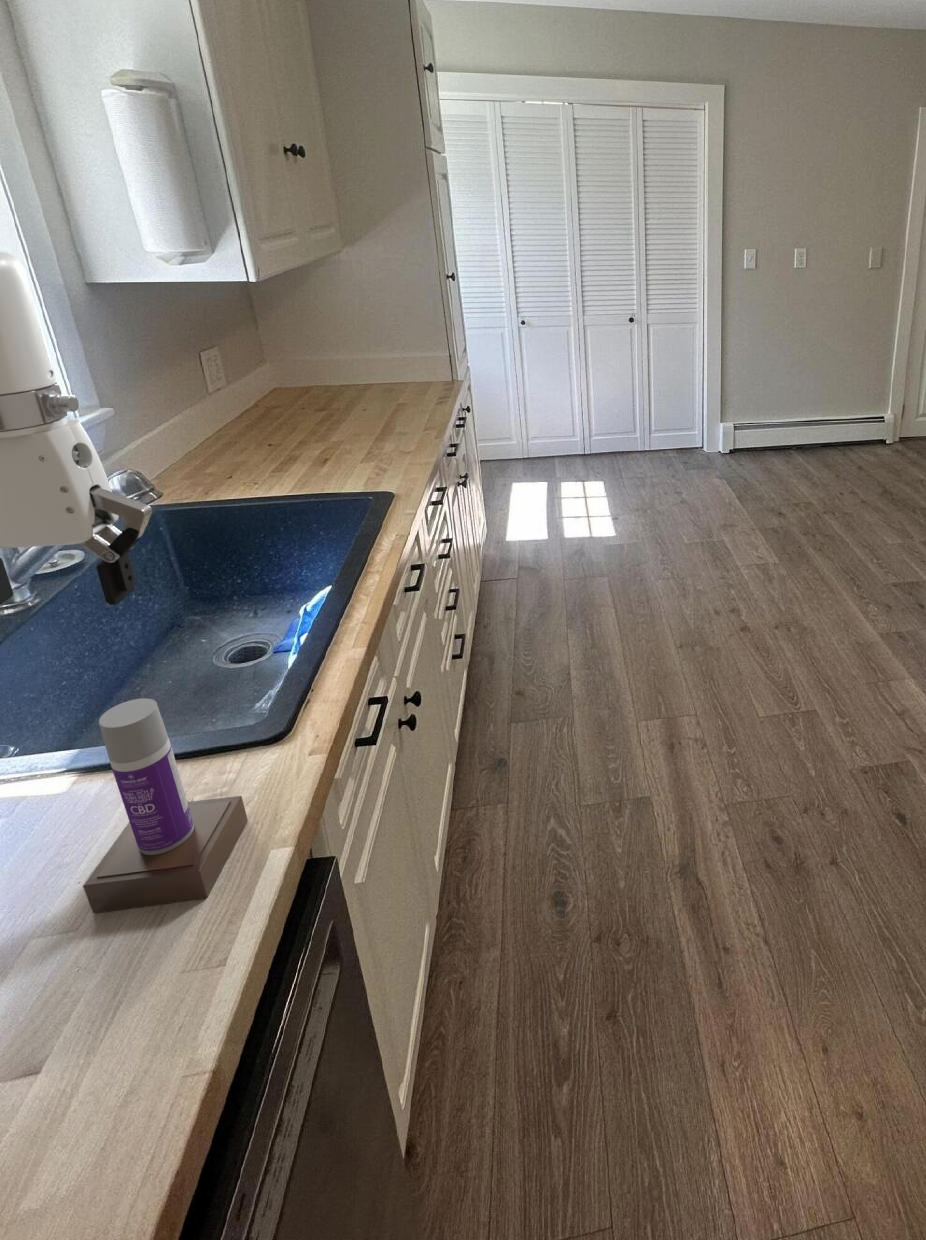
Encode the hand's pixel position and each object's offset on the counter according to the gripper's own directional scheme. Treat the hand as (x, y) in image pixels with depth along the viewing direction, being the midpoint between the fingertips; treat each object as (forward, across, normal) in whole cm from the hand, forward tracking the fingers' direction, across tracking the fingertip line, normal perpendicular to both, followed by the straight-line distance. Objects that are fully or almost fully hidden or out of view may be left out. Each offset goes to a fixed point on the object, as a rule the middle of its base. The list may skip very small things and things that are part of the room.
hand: (60, 601), depth 64 cm
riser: (+31, -3, 0) cm, 31 cm away
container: (+27, -3, 0) cm, 27 cm away
